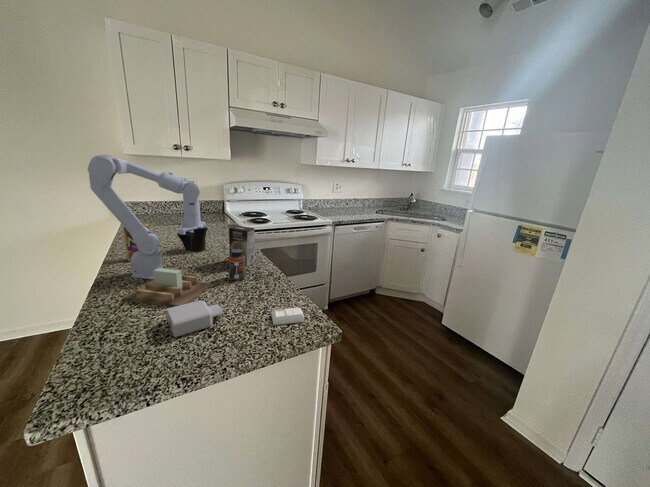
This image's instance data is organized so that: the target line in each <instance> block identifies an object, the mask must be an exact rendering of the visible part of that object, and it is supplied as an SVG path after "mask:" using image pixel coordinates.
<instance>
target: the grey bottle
mask: <svg viewBox="0 0 650 487" xmlns="http://www.w3.org/2000/svg"><path fill="white" fill-rule="evenodd" d="M228 309H229V307H227V305H226V304H224V305H221V306H220V304H219V303H216V304H213V305H212V304H211V305H208V304H207V302H206V301H204V300H201V299H200V300H196V301H191V302H190V303H188V304H184V305H180V306H175V307H169V308H168V307H167V308H166V317H167V322H168V325H169V328H170V330H171V333H172V335H173V337H174V338H179V337H181V336H184V335H187V334H190V333H193V332H198V331H200V330H201V331H202V330H203V329H207V328H211V326H212V325H213V324H214V320H213V319H214V317H218V316H222V315H224V311H226V310H228Z"/></svg>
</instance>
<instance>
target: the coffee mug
mask: <svg viewBox="0 0 650 487" xmlns="http://www.w3.org/2000/svg"><path fill="white" fill-rule="evenodd" d="M189 233H190V234H194V231H190V232H189ZM206 241H207V233H206V234H205V237H204V241H203V245H197V243H196V237H195V234H194V237H193V240H192V251H191V252H192V253H193V252H194V253H199V252H203V251H206V244H207V243H206Z"/></svg>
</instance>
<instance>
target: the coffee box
mask: <svg viewBox="0 0 650 487" xmlns="http://www.w3.org/2000/svg"><path fill="white" fill-rule="evenodd" d="M255 230H256V228H255V227H249V226H244V225H234V226H233V225H232V226H230V227H228V244H229V245H228V246H229V248H228V249H229V252H228V253H229V257H230V256H231V255H232V254H231V251H232V250H234V249H240V250H242V253H243V255H244V256H245V267H248V266H250V265H252V264H253V263H255Z"/></svg>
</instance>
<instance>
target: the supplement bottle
mask: <svg viewBox="0 0 650 487" xmlns="http://www.w3.org/2000/svg"><path fill="white" fill-rule="evenodd" d="M231 254H232V255H231V256H230V255H229V257H228V276H229V279H230V280H232V281H237V282H238V281H243V280H244V279H245V277H246V266H245V256H244V255H243V253H242V250H240V249H234V250H232V251H231Z"/></svg>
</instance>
